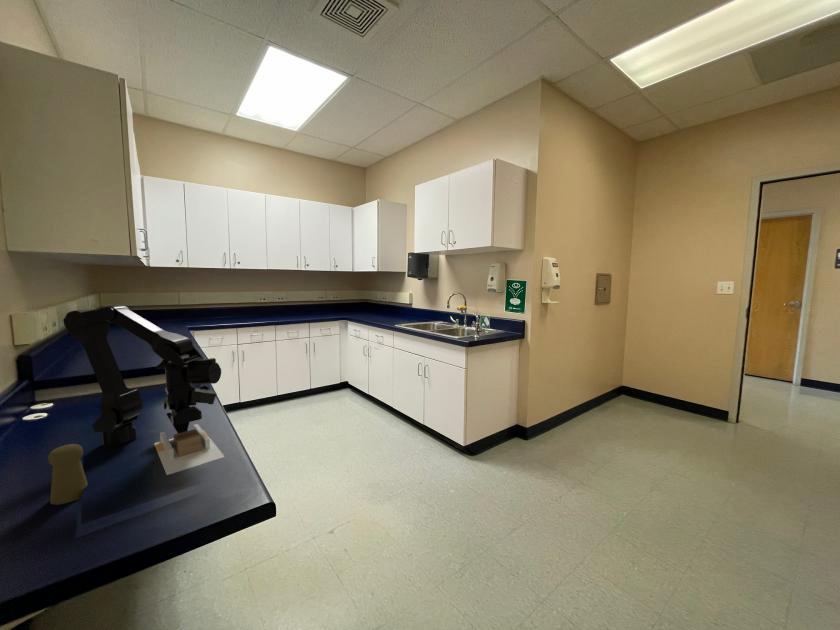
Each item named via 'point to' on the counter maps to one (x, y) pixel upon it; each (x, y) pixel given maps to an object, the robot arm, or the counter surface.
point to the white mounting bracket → (191, 460)
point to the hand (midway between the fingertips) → (183, 438)
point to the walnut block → (187, 442)
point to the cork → (67, 474)
